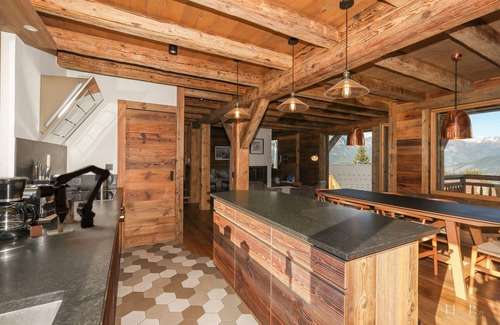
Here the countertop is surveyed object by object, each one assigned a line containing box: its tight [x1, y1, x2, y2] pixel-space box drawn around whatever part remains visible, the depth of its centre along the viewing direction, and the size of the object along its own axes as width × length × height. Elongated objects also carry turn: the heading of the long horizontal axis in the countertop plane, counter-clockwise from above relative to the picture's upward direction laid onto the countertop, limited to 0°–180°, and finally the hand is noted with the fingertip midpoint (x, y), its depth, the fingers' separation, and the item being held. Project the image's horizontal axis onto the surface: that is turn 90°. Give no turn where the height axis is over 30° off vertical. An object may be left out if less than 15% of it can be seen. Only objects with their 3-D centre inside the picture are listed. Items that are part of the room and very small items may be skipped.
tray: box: [46, 227, 75, 237], centre depth 140 cm, size 12×9×1 cm
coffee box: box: [63, 197, 75, 224], centre depth 163 cm, size 9×6×16 cm
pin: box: [57, 217, 64, 233], centre depth 140 cm, size 2×2×9 cm
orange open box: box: [29, 225, 44, 238], centre depth 135 cm, size 5×5×5 cm
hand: (60, 222), depth 140 cm, fingers open, 9 cm apart
